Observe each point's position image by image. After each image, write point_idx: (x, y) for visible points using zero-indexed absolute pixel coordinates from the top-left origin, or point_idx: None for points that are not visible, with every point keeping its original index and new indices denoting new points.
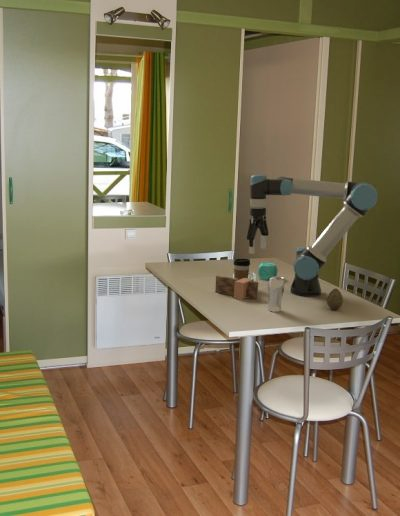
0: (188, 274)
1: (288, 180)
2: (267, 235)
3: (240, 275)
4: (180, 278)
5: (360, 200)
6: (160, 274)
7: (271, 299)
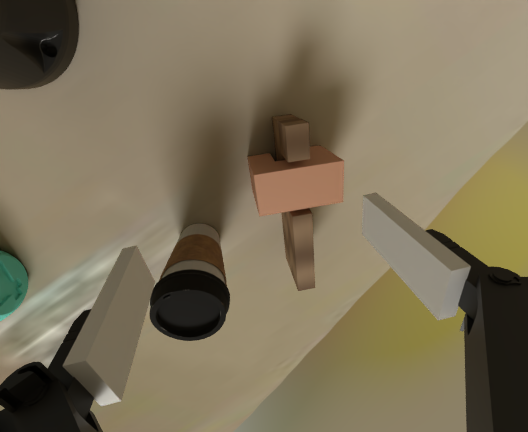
0: (198, 391)
1: None
2: (43, 365)
3: (219, 257)
4: (247, 375)
5: None
6: (252, 410)
7: None
